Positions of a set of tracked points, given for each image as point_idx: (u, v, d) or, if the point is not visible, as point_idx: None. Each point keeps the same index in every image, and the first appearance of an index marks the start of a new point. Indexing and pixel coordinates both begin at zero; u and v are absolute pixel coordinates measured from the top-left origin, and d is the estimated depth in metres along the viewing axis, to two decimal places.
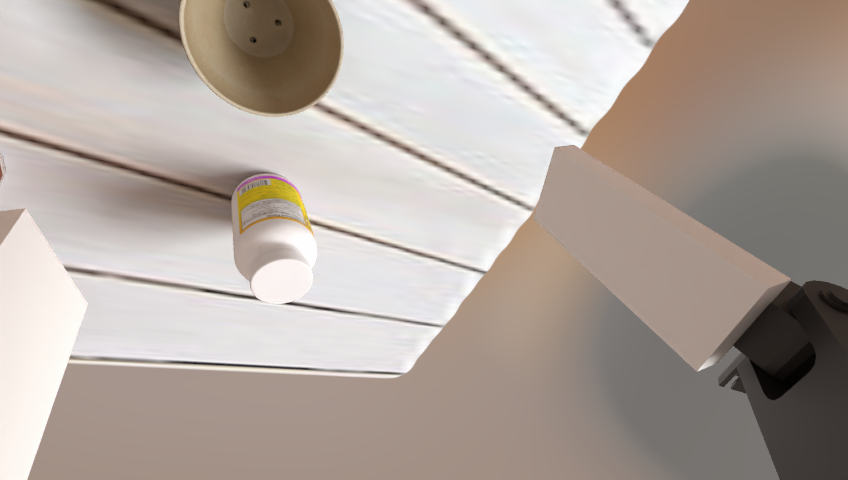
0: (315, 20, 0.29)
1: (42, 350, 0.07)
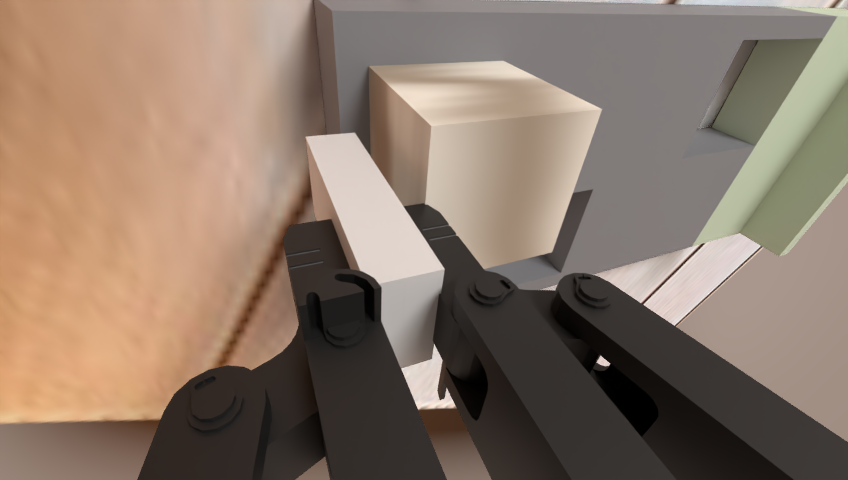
0: None
1: None
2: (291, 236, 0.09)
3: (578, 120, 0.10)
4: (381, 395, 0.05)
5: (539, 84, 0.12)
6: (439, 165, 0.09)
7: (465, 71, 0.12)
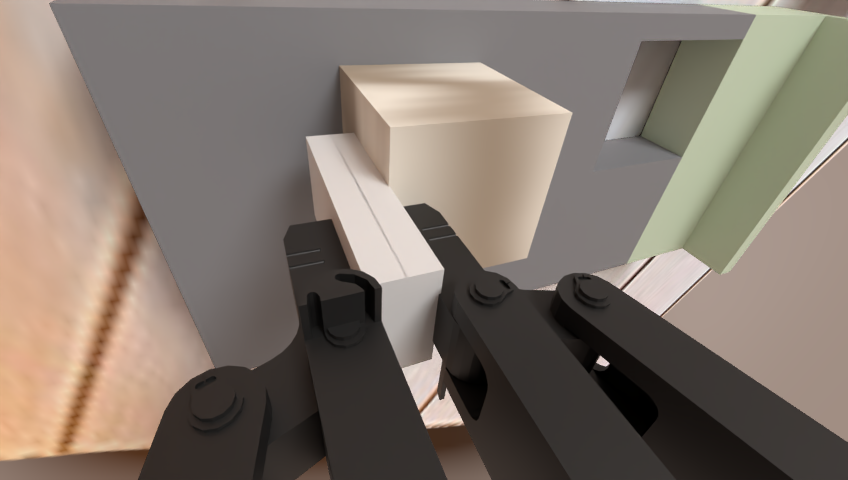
0: None
1: None
2: (291, 236, 0.09)
3: (547, 123, 0.10)
4: (381, 395, 0.05)
5: (512, 86, 0.12)
6: (400, 167, 0.09)
7: (438, 72, 0.12)
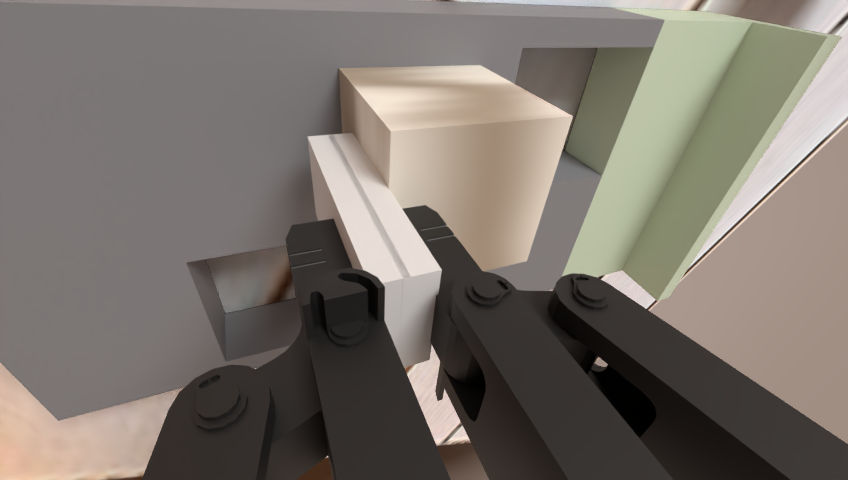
0: None
1: None
2: (293, 235, 0.09)
3: (548, 127, 0.10)
4: (384, 394, 0.05)
5: (512, 89, 0.12)
6: (400, 171, 0.09)
7: (438, 75, 0.12)
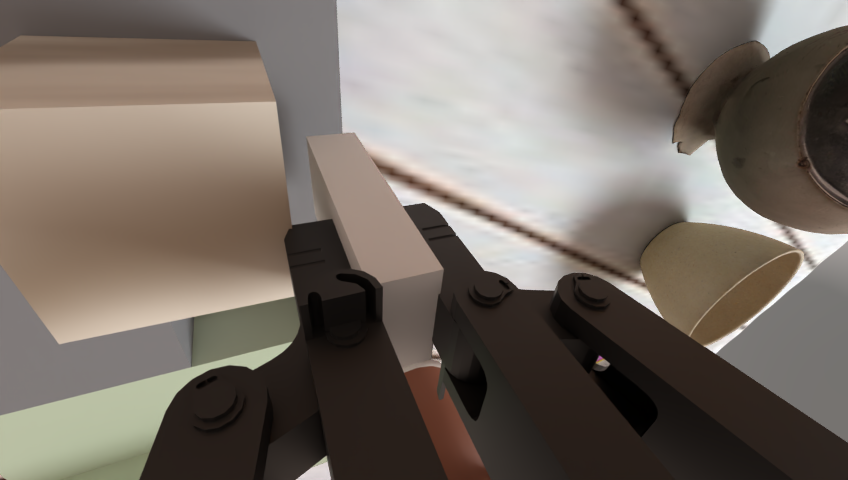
0: None
1: None
2: (291, 235, 0.09)
3: (287, 276, 0.10)
4: (382, 395, 0.05)
5: None
6: (217, 119, 0.07)
7: None
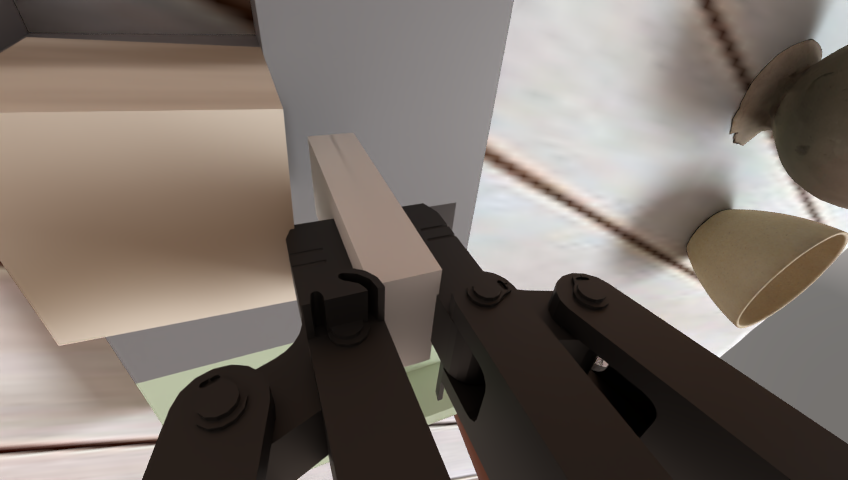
0: None
1: None
2: (293, 235, 0.09)
3: (288, 281, 0.10)
4: (384, 394, 0.05)
5: None
6: (225, 125, 0.07)
7: None
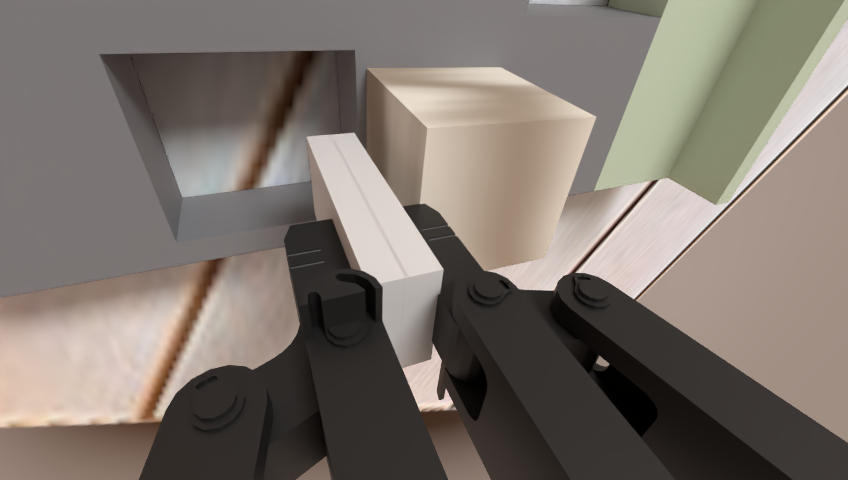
0: None
1: None
2: (292, 236, 0.09)
3: (573, 127, 0.10)
4: (382, 395, 0.05)
5: (535, 91, 0.12)
6: (433, 167, 0.09)
7: (462, 76, 0.13)
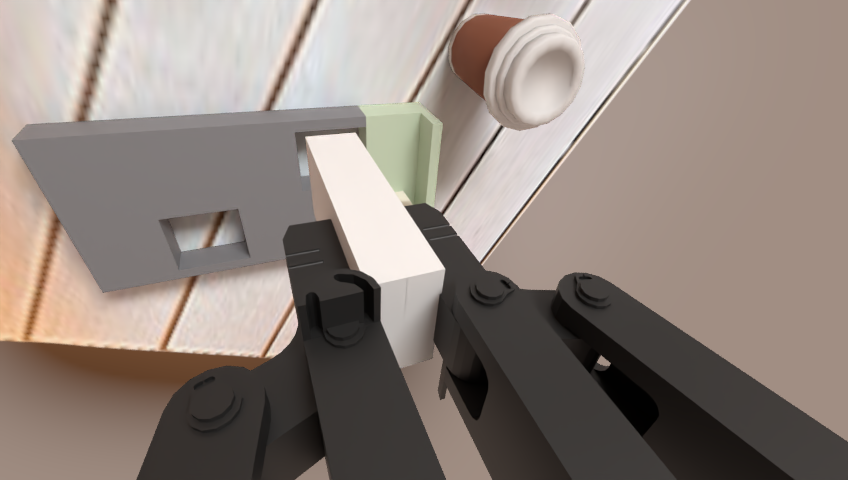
0: None
1: None
2: (290, 236, 0.09)
3: None
4: (380, 395, 0.05)
5: (408, 204, 0.40)
6: None
7: None
